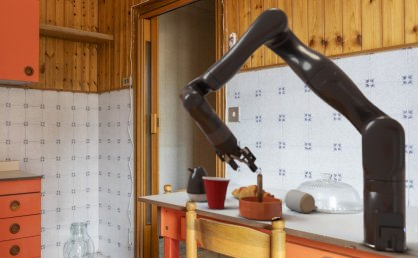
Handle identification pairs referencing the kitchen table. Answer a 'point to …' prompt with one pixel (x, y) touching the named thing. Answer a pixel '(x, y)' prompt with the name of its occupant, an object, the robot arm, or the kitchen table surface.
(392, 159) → the robot arm
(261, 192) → the wooden peg stand
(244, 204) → the bowl
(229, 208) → the kitchen table surface
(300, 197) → the ceramic mug
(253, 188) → the croissant
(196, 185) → the pump dispenser
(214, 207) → the plastic cup
